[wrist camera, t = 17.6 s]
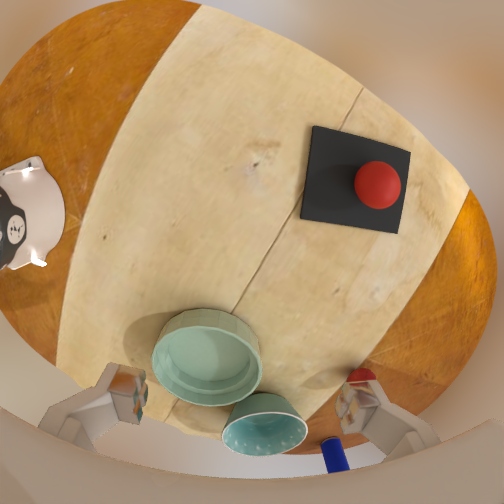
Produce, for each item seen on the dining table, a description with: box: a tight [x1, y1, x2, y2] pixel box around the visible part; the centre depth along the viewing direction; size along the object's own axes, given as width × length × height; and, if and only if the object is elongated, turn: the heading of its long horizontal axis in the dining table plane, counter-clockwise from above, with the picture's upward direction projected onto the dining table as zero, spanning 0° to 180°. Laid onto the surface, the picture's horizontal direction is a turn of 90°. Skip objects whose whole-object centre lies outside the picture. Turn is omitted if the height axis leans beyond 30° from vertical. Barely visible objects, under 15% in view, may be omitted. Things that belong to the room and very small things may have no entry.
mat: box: [300, 126, 411, 234], centre depth 36 cm, size 16×13×1 cm
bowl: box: [221, 393, 308, 457], centre depth 44 cm, size 16×16×8 cm
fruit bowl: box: [151, 308, 263, 407], centre depth 41 cm, size 17×17×6 cm
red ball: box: [354, 161, 401, 209], centre depth 32 cm, size 6×6×6 cm
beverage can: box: [321, 437, 350, 474], centre depth 48 cm, size 5×5×15 cm
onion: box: [346, 368, 376, 382], centre depth 43 cm, size 6×6×8 cm
